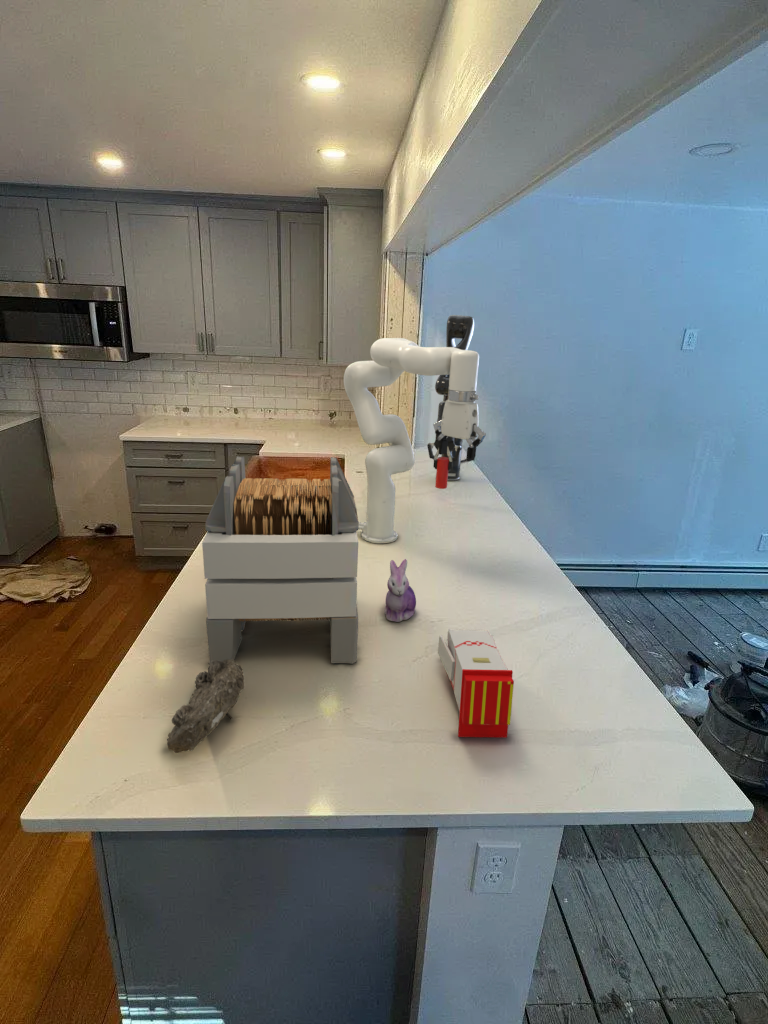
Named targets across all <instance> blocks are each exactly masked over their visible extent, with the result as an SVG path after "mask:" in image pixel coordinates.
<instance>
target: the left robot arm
mask: <svg viewBox="0 0 768 1024" xmlns="http://www.w3.org/2000/svg"><path fill="white" fill-rule="evenodd" d="M369 356H370V357H371V359H372V360H359V361H355V362H352V363H349V365H347V367H346V368H345V370H344V373H343V388H344V391H345V394H346V396H347V398H348V400H349V402H350V404H351V406H352V409H353V412H354V415H355V419H356V423H357V426H358V429H359V433H360V436H361V438H362V440H363V442H364V443H365V444H366V445H369V446H375V445H385V444H388V445H385V446H380V447H375V448H373V449H371V450H369V451H368V453H367V454H366V455H365V459H364V465H365V471H366V480H367V481H366V482H367V483H366V490H367V491H366V519H365V520H366V521H364V522H362V521H359V529H358V530H361V534H360V535H361V538H362V539H363V540H364V541H366V542H368V543H373V544H389V543H393V542H395V541H397V540H398V537H399V534H398V532H397V531H396V530H395V528H394V527H395V510H396V509H395V508H396V507H395V506H396V485H395V482H394V481H393V479H392V476H393V475H397V474H402V473H407V472H409V471H411V470H412V469H413V467H414V466H415V460H416V459H415V452H414V449H413V446H412V442H411V439H410V436H409V433H408V429H407V425H406V424H405V422H404V420H403V419H402V418H401V417H400V416H399V415H397V414H393V413H389V414H383V412H382V411H381V409H380V405H379V402H378V400H377V398H376V397H375V396H374V394H373V393H372V392H371V391H369V389H368V388H379V387H388V386H391V385H393V384H394V383H395V382H396V381H397V380H398V379H399V378H400V377H401V375H402V374H403V373H404V372H406V373H408V374H412V375H413V374H414V375H417V376H419V375H420V376H426V377H432V376H440V375H450V378H449V390H448V400H446V403H445V406H444V410H443V416H442V420H441V421H438V422H437V421H436V422H434V423H433V424H432V425H433V428H434V434H435V436H436V435H437V437H438V440H439V456H441V455H442V454H446V453H447V447H448V440H447V439H446V438H447V437H448V436H450V437H455V438H459V439H463V441H466V442H467V444H468V447H467V448H466V456H465V457H466V458H465V459H466V461H465V462H468V463H469V462H472V461H475V459H476V455H477V447H479V446H480V445H481V444H482V443H483V440H484V439H485V437H486V436H487V433H486V432H485V431H484V430H483V429H482V428H480V427H479V425H480V424H479V423H480V420H479V419H480V417H479V415H480V414H479V412H480V411H479V404H478V402H476V401H478V400H479V397H480V396H479V394H477V386H478V374H479V363H480V354H479V352H477V351H476V350H471V349H467V350H461V349H458V348H454V347H446V346H430V347H427V346H426V347H425V346H419V345H418V344H417V342H415V341H413V340H410V339H407V338H405V337H382V338H379V339H377V340H375V341H374V342H373V343H372V345H371V346H370V349H369ZM440 426H441V430H440Z"/></svg>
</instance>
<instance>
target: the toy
mask: <svg viewBox="0 0 768 1024" xmlns="http://www.w3.org/2000/svg"><path fill="white" fill-rule="evenodd" d="M446 640H447V643H446V641H445V639H444V636H443V635H442V634H439V637H438V646H437V656H438V657H439V659H440V661H441V663H442V666H443V668H444V670H445V672H446V674H447V677H448V679H449V681H450V684H451V687H452V690H453V693H454V697H455V701H456V705H457V708H458V711H459V714H458V715H459V716H458V730H457V731H458V732H457V737H458V738H508V731H509V726H510V725H511V717H512V707H513V697H514V696H513V695H514V684H515V680H514V679H513V673H514V671H513V670H512V669H508V667H507V665H506V662H505V661H504V659H503V658H502V655H501V653H500V651H499V649H498V647H497V643H496V639H495V637H494V635H493V634H491V632H490V631H489V629H467V628H466V629H465V628H463V629H461V628H460V629H459V628H448V630H447V639H446Z"/></svg>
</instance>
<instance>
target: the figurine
mask: <svg viewBox="0 0 768 1024" xmlns="http://www.w3.org/2000/svg"><path fill="white" fill-rule="evenodd" d="M407 567H408V559H406V558H404V559H403V560H402V561H401V563H400V565H399V566H398V565H397V563H396V562H395V561H394V560H393V559H391V560H390V561H389V570H390V576H389V578H388V579H387V589H388V591H387V592H386V594H385V595H386V596H385V607H384V615H385V616H386V620H387V621H391V622H395V623H400V622H402V621H406V620H409V619H410V618H411V617H413V616H414V615H415V610H416V606H417V597H416V593H415V591H414V590H413V587H411V586H410V582H409V579H408V577H407V574H406V571H407Z"/></svg>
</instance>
